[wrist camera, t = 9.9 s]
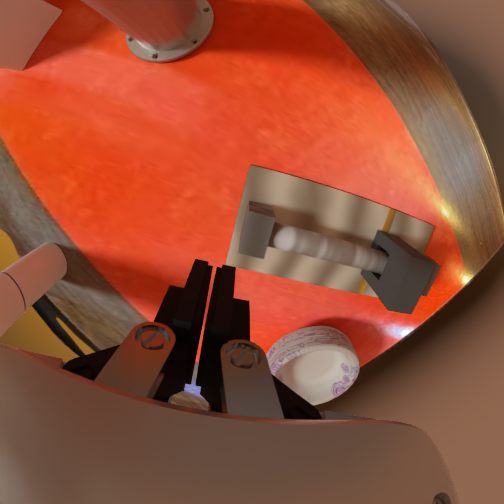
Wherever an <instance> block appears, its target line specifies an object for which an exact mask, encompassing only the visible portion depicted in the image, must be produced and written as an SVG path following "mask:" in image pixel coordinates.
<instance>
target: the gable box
mask: <svg viewBox="0 0 504 504" xmlns="http://www.w3.org/2000/svg"><path fill="white" fill-rule="evenodd" d="M62 12H63V10H61V9H59V8H57V7H55V6H53V5H51V4H49V3H47V2H45V1H43V0H0V68H4V69H11V70H18V71H23V69H24V67H25V66H26V64H27V62H28V61H29V59H30V57H31V56H32V54H33V52H34V51H35V49H36V48H37V46H38V45H39V43H40V42H41V40H42V39H43V37H44V36H45V35H46V33H47V32H48V30H49V29H50V28H51V26H52V25H53V24H54V22H55V21H56V20H57V19H58V17H59V16H60V15H61V14H62Z"/></svg>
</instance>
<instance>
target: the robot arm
mask: <svg viewBox="0 0 504 504" xmlns="http://www.w3.org/2000/svg"><path fill="white" fill-rule="evenodd" d="M80 1H82V2H83V3H85V4H86V5H88V6H89V7H91V8H92V9H94V10H95V11H97V12H98V13H99V14H101V15H102V16H103V17H105V18H106V19H108V20H109V21H110V22H112V23H113V24H114V25H116V26H117V27H118V28H120V29H121V30H122V31H123V32H125V33H126V42H127V45H128V48H129V49H130V51H131V52H132V53H133V54H134V55H136V56H137V57H138V58H140V59H142V60H144V61H148V62H153V63H164V62H170V61H174V60H177V59H180V58H182V57H184V56H186V55H188V54H190V53H192V52H193V51H194V50H196V49H197V48H198V47H200V46H201V45H202V44H203V43H204V42H205V40H206V39H207V38H208V36H209V35H210V33H211V31H212V29H213V24H214V13H213V9H212V7H211V5H210V3H209V2H208V1H207V0H80ZM195 42H197V43H196V44H194V43H195ZM157 56H158V57H157ZM156 57H157V58H156ZM212 268H213V266H210V265H208V262H207V261H203V260H198V259H195V261H194V264H193V266H192V269H191V272H190V274H189V277H188V279H187V282H186V285H185V287H184V288H181V287H176V286H172V285H171V286H170V287H169V288H168V291H167V293H166V295H165V297H164V299H163V302H162V304H161V306H160V308H159V311H158V313H157V315H156V317H155V320H154V322H144V323H141V324H139V325H136V326H135V327H134V328H133V329H132V330H131V332H130V333H129V334H128V335H127V337H126V338H125V339H124V341H123V342H122V343H121V345H117V346H114V347H111V348H108V349H105V350H101V351H98V352H95V353H91V354H88V355H85V356H81V357H78V358H74V359H72V360H70V361H68V362H67V363H65V362H63V359H61V358H56V357H51V356H46V355H41V354H37V353H33V352H29V351H25V350H21V349H16V348H13V347H11V346H8V345H6V344H2V343H0V504H460V503H459V500H458V497H457V493H456V490H455V487H454V484H453V481H452V479H451V476H450V473H449V471H448V468H447V466H446V463H445V461H444V459H443V457H442V455H441V453H440V451H439V449H438V447H437V445H436V444H435V442H434V441H433V439H432V438H431V437H430V435H429V434H428V433H427V432H425V431H424V430H422V429H421V428H418V427H416V426H413V425H411V424H406V423H402V422H397V421H389V420H376V419H372V418H366V417H359V416H353V415H347V414H341V413H336V412H330V411H325V412H324V413H320V412H319V411H318V410H317V409H316V408H315V407H314V406H313V405H312V404H310V403H309V402H308V401H306V400H305V399H304V398H302V397H301V396H300V395H298V394H297V393H296V392H294V391H293V390H292V389H290V388H289V387H288V386H287V385H285V384H284V383H283V382H281V381H280V380H279V379H278V378H276V377H275V376H274V375H273V374H271V371H270V367H269V364H268V360H267V357H266V354H265V352H264V351H263V350H262V349H261V348H260V346H258V345H256V344H255V343H253V342H250V310H249V301H246V300H241V299H235V298H233V297H234V284H235V271H236V267H232V266H227V265H223V266H222V268H220V267H217V269H216V274H215V279H214V283H213V288H212V293H211V298H210V303H209V308H208V313H207V318H206V323H205V329H204V335H203V341H202V347H201V353H200V359H199V366H198V372H197V379H196V386H201V392H200V395H202V396H203V397H204V398H205V400H206V401H207V402H208V403H209V404H208V411H206V410H200V409H195V408H190V407H185V406H180V405H175V404H171V401H172V397H173V395H174V394H177V393H179V392H181V391H184V388H185V383H186V384H191V381H192V376H193V370H194V365H195V360H196V355H197V350H198V345H199V340H200V335H201V330H202V325H203V319H204V314H205V308H206V302H207V296H208V290H209V285H210V279H211V274H212Z"/></svg>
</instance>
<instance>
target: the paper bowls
mask: <svg viewBox="0 0 504 504" xmlns="http://www.w3.org/2000/svg"><path fill="white" fill-rule="evenodd" d="M266 357H267V360H268V364H269V367H270V371H271V374H273V375H274V376H275V377H276V378H278V379H279V380H280V381H281V382H283V383H284V384H285V385H287V386H288V387H289V388H290V389H292V390H293V391H294V392H296V393H297V394H298V395H300V396H301V397H302V398H304V399H305V400H306V401H308V402H309V403H310V404H312V405H317V404H320V403H324V402H327V401H329V400H332V399H334V398H335V397H337V396H339V395H340V394H342V393H343V392H345V391H346V390H347V389H348V388H349V387H350V386H351V385H352V383H353V382H354V381H355V380H356V378H357V376H358V373H359V369H360V361H359V358H358V356H357V354H356V351H355V349H354V347H353V345H352V343H351V341H350V339H349V337H348V336H347V335H346V334H344V333H343V332H342V331H340V330H338V329H336V328H333V327H329V326H311V327H306V328H301V329H298V330H295V331H293V332H291V333H289V334H287V335H285V336H284V337H282V338H281V339H279V340H278V341H277V342H276V343H275V344H274V345H273V346H272V347H271V348H270V350H269V351H268V353H267V355H266Z"/></svg>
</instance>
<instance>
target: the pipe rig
mask: <svg viewBox="0 0 504 504" xmlns="http://www.w3.org/2000/svg"><path fill="white" fill-rule="evenodd" d="M433 229H434V226H433V225H431V224H429V223H426V222H424V221H422V220H419V219H417V218H414V217H412V216H410V215H407V214H405V213H402V212H400V211H397V210H394V209H392V208H389V207H387V206H384V205H381V204H378V203H376V202H373V201H370V200H367V199H365V198H362V197H359V196H356V195H353V194H350V193H347V192H344V191H341V190H338V189H335V188H332V187H329V186H326V185H323V184H319V183H316V182H313V181H309V180H306V179H303V178H299V177H296V176H292V175H289V174H285V173H281V172H278V171H274V170H270V169H266V168H262V167H259V166H255V165H250V167H249V171H248V175H247V179H246V183H245V187H244V191H243V195H242V199H241V203H240V207H239V211H238V215H237V219H236V223H235V227H234V231H233V235H232V240H231V244H230V248H229V252H228V256H227V261H226V265H230V266H234V267H238V268H243V269H247V270H251V271H256V272H260V273H265V274H269V275H274V276H278V277H283V278H287V279H292V280H296V281H301V282H306V283H310V284H315V285H320V286H324V287H329V288H334V289H338V290H343V291H348V292H353V293H356V294H361V295H368V296H372V297H377V298H378V296H377V295H376V294H375V292H374V291H373V290H372V288H371V287H370V286H369V284H368V283H367V282H366V280H365V279H364V278H363V276H362V275H361V274H360V273H361V271H362V269H363V270H367V271H371V272H375V273H379V274H381V275H382V272H383V270H384V268H385V265H386V263H387V261H388V258H389V256H390V254H389V253H388V252H383V251H380V250H376V249H373V248H371V246H372V243H373V241H374V238H375V235H376V233H377V230H380V231H383V232H386V233H389V234H392V235H395V236H398V237H399V238H401V239H402V240H404V241H405V242H406V243H408V244H409V245H411V246H412V247H413V248H415V249H416V250H417V251H419V252H420V253H421V254H423V255H424V256H425V257H426V258H428V259H429V260H430V261H432V262H433V263H434V264H435V267H434V269H433V271H432V274H431V276H430V278H429V280H428V282H427V284H426V286H425V288H424V290H423V292H422V294H421V295H423V296H427V294H428V292H429V290H430V288H431V286H432V284H433V282H434V280H435V278H436V275H437V273H438V271H439V269H440V265H439V264H438V263H436V262H435V261H434V260H432V259H431V258H430V257H428V256H427V255H426V254H424V252H425V250H426V247H427V245H428V242H429V239H430V237H431V234H432V232H433Z"/></svg>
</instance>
